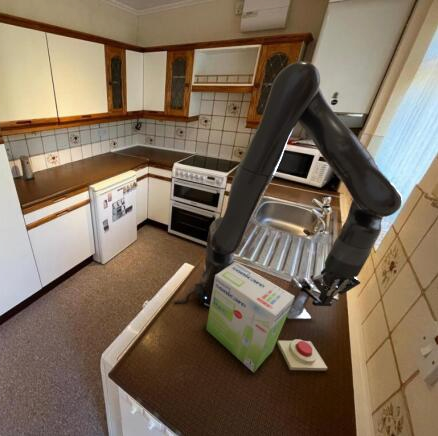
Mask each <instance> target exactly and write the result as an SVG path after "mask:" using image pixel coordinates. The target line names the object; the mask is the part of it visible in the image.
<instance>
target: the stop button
mask: <svg viewBox="0 0 438 436" xmlns="http://www.w3.org/2000/svg"><path fill="white" fill-rule="evenodd" d="M304 341H305V340H303V341H300V342H298V344H297V346H296V349H297V351H298V352H299V353H300V354H301V355H302V356H305V357H308V356H310V354H311V353H312V347H311V346H310V345H309V344H308V343H306V342H304Z"/></svg>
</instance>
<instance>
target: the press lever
mask: <svg viewBox="0 0 438 436" xmlns="http://www.w3.org/2000/svg"><path fill="white" fill-rule="evenodd" d="M297 281H298V280H297ZM302 281H303V280H302ZM302 281H301V280H299V281H298V283H299V284H300V285H301V287H302V288H301V291H300V292H305V293H306V294H308V295H309V296H310V297H309V298H311V299H312V303H311V304H312V305H313V306H314V307H332V305H333V302H332V301H331V302H330V303H329V304H322V302H321V301H320V300H319V296H318V295H316V294H315V293H314V292H313V291H312V292H311V291H310V290H308V289H307V286H308V285H306V284H305V283H304V282H302Z"/></svg>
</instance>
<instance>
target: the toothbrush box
mask: <svg viewBox="0 0 438 436" xmlns="http://www.w3.org/2000/svg"><path fill="white" fill-rule="evenodd" d="M294 297H295V296H294V295H292V294H290V293H288V292H287V290H284V288H281V287H280V286H278V285H276V284H275V283H273V282H271V281H270V280H269V279H266V278H265V277H263V276H262V275H259V274H258V273H256V272H255V271H254V270H251V269H249V268H248V267H246V266H244V265H242V264H241V263H239V262H238V261H234V263H233V264H231V265H230V266H228V267H227V268H225V269H224V270H222V271H221V272H219V273H218V274H216V275H215V279H214V286H213V291H212V297H211V303H210V308H209V310H208V316H207V322H206V328H205V330H206V331H207V332H208V333H209V334H210V335H212V336H213V338H215V339H216V340H217V341H218V342H219V343H220V344H221V345H223V347H224V348H226V349H227V350H228V351H229V352H230V353H231V354H232V355H233V356H234V357H236V358H237V359H238V360H239V361H240V362H241V363H242V364H243V365H244V366H245V367H246V368H248V369H249V370H250V371H251V372H252V373H253V374H254V373H255V372H256V371H257V370H258V369H259V367H260V366H261V365H262V364H263V363H264V362H265V360H266V359H268V357H269V356H270V355H271V353H273V351H274V348H275V346H276V344H277V342H278V339H279V336H280V334H281V331H282V329H283V326H284V325H285V322H286V319H287V314H288V312H289V310H290V307H291V305H292V302H293V300H294Z"/></svg>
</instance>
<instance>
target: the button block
mask: <svg viewBox="0 0 438 436" xmlns="http://www.w3.org/2000/svg"><path fill="white" fill-rule="evenodd" d="M300 341H304V342H306V343H308V344H309V345H310V346H311V347H312V353H311V354H310V356H308V357H305V356H302V355H301V354H300V353H299V352H298V351H297V349H296V346H297V344H298V342H300ZM276 344H277V346H278V349H279V350H280V352H281V355H282V356H283V359H284V361H285V363H286V364H287V366H288V369H289V370H290V371H327V370H328V366H327V365H326V363H325V361H324V360H323V358H322V356H321V355H320V353H319V352H318V351H317V349H316V347H315V346H314V344H313V343H312V341H311V340H302V339H293V340H277V341H276Z"/></svg>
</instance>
